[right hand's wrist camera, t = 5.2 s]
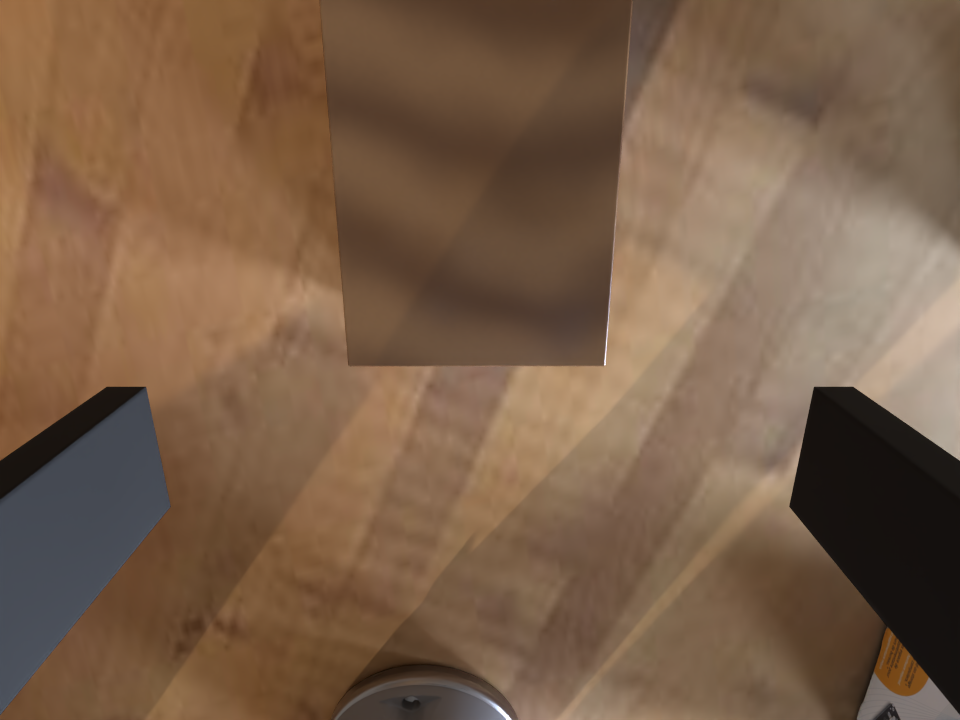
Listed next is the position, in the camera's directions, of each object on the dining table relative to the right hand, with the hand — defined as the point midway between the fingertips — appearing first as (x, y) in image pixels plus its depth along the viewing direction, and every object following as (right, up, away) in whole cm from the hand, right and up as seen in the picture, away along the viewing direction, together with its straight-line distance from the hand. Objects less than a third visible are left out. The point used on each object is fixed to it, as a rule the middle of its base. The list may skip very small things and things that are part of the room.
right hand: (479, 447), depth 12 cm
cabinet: (0, +14, +21) cm, 26 cm away
